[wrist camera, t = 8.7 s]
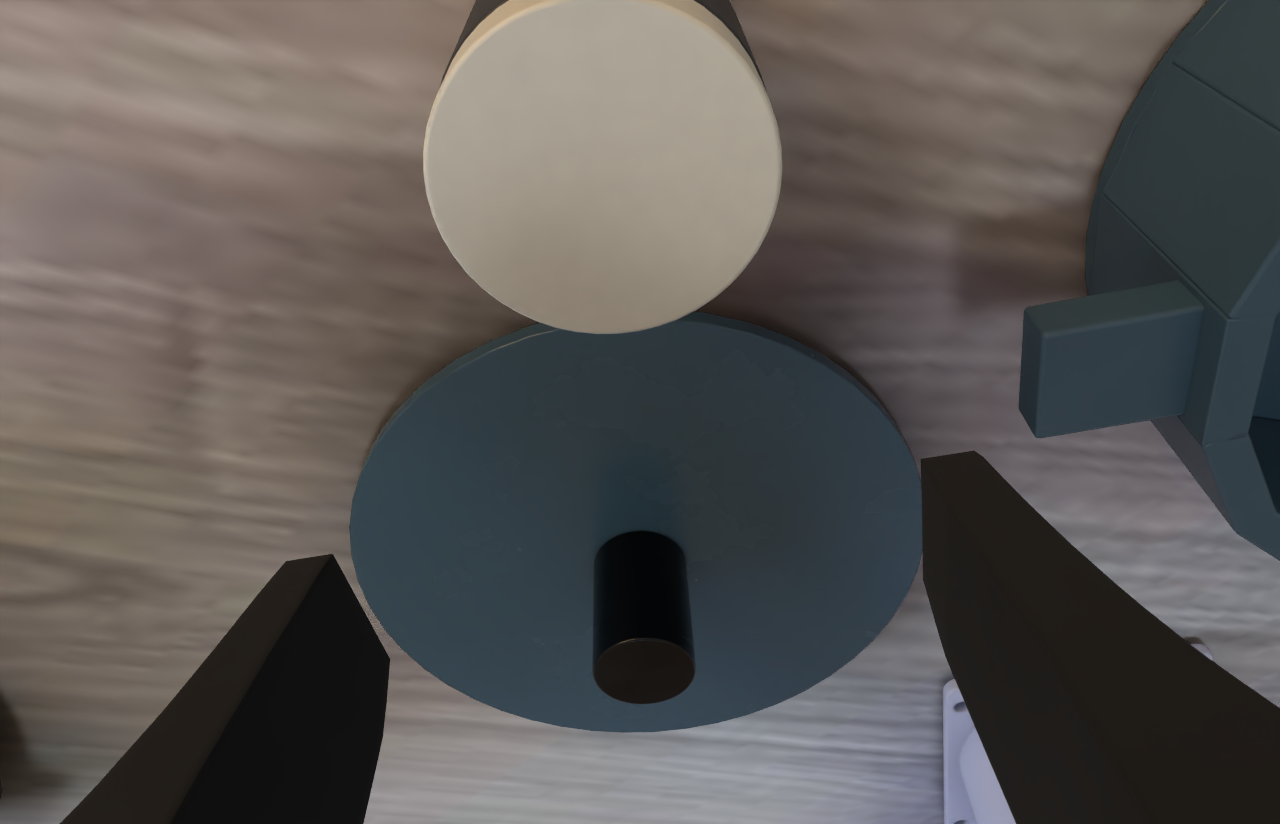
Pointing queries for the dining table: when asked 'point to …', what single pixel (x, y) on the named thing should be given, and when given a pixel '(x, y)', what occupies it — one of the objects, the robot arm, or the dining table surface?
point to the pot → (1184, 273)
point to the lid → (637, 523)
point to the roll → (603, 158)
